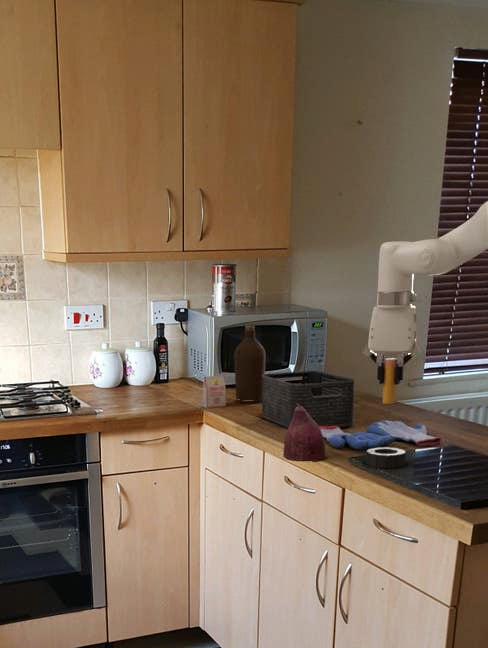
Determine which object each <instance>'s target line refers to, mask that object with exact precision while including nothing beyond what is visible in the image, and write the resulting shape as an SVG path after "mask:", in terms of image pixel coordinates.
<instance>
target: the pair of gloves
mask: <svg viewBox="0 0 488 648" xmlns="http://www.w3.org/2000/svg"><path fill="white" fill-rule="evenodd" d="M319 428H320V430H321V432H322V435H323V438H325V439H326V441H327V442H328V443H329V444H330V445H331V446H332V447H334V448H335V449H341V448H343V447H344V446H345V445H346V443H347V444H348V446H350V448H351V449H354V450H358V451H363V450H368V449H372V448H382V447H388V446H389V445H391V444H392V443H394V441H399V440H400V441H405V442H407V443H415V444H416V445H417V446H418V447H428V446H436V445H440V444H441V442H442V438H441V437H440V436H436V437H435V436H432V435H428V434H427V433H428V432H427V426H426V425H425V424H423V423H417V424H415V425H414V426H413V427H410V426H408V425H406V424H405V423H404V422H402V421H396V420H395V421H392V420H388V419H384V420H380V421H375V422H373V423H371V424H370V426H367V428H366V429H365V431H366V432H363V431H361V432H355V433H349V432H344V431H343V430H342V429H341V427H337V426H332V427H322V426H321V427H319Z"/></svg>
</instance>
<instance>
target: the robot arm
mask: <svg viewBox="0 0 488 648" xmlns="http://www.w3.org/2000/svg"><path fill="white" fill-rule="evenodd" d="M487 250H488V200H487V201H485V202H484V203H483V204H482V205H481V206H480V207H478V210H477V211H476V212H475V214H474V215H473V216H471V218H469V219H468V220H466V221H465V222H464V223H462V224H460V225H459V226H458V227H456V228H454V229H452V230H451V231H449V232H447V233H445V234H443V235H442V236H439V238H428V239H423V240H422V239H421V240H417V241H408V240H398V241H385V242H383V243H381V245H380V248H379V254H378V255H379V256H378V275H377V276H378V277H377V292H376V293H377V295H376V296H377V297H376V299H377V300H376V305H375V306H373V308H372V309H373V310H372V313H371V319H370V324H369V333H368V341H367V342H366V344H365V346H364V348H363V350H362V354H363V355H365V356H366V357H368V358H370V359H371V360H372V361H373V362H374V364H376V366H377V373H376V374H377V375H376V376H377V377H376V380H377V381H378V383H379V385H383V383H384V365H385V359H386V358H385V356H386V353H397V367H396V368H395V384H396V386H397V385H399V384H401V381H403V380H404V368H405V367H404V366H405V365H406V364H408V362H409V361H410V360H412V359H413V358H416V357H418V356H420V355H421V354H422V351H421V348H420V347H419V344H418V341H417V338H418V337H417V335H418V333H417V331H418V330H417V329H418V328H417V327H418V325H417V324H418V323H417V321H418V320H417V310H416V306H415V305H412V304H413V303H414V302H418V301H419V299H420V295H419V294H415V293H414V291H413V290H414V289H413V288H414V286H413V285H414V276H419V277H434V276H439V275H444V274H447V273H449V272H450V271H452V270H454V269H456V268H457V267H459V266H461V265H463V264H465V263H467V262H468V261H470V260H472V259H473V258H475V257H477V256H479V255H480V254H481V253H483V252H485V251H487ZM411 351H412V352H411ZM409 352H410V353H409ZM406 353H408V354H406Z"/></svg>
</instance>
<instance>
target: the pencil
mask: <svg viewBox="0 0 488 648" xmlns="http://www.w3.org/2000/svg"><path fill="white" fill-rule="evenodd" d="M384 363H385V365H384V383H383V384H382V386H383V387H382V404H387V405H388V404H389V405H391V404H395V403H396V392H397V390H396V389H397V385H396V384H395V368H396V367H397V364H398V357H397V358H396V357H387V358H384Z"/></svg>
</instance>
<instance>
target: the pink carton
mask: <svg viewBox="0 0 488 648" xmlns="http://www.w3.org/2000/svg"><path fill="white" fill-rule="evenodd" d="M226 391H227V389H226V383H225V376H224V375H210V376H203V384H202V407H203V408H205V409H212V408H225V407H227V405H226V404H227V400H226V398H227V397H226V396H227V395H226V394H227V393H226ZM203 403H204V404H203ZM222 403H226V404H222ZM205 404H206V405H205ZM209 404H214V405H209Z"/></svg>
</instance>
